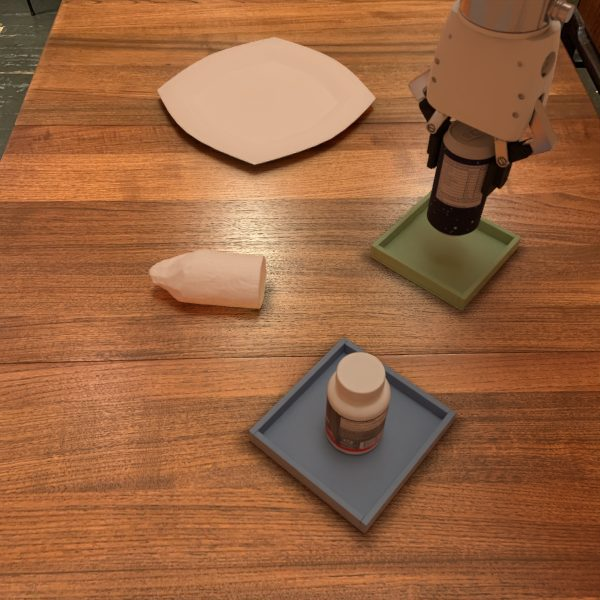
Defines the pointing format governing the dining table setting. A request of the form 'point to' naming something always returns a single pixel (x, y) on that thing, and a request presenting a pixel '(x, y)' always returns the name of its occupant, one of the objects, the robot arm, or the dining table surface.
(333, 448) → the blue tray
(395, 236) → the green tray
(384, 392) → the pill bottle
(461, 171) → the beverage can
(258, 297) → the pale pink bottle
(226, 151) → the plate
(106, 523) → the dining table surface
